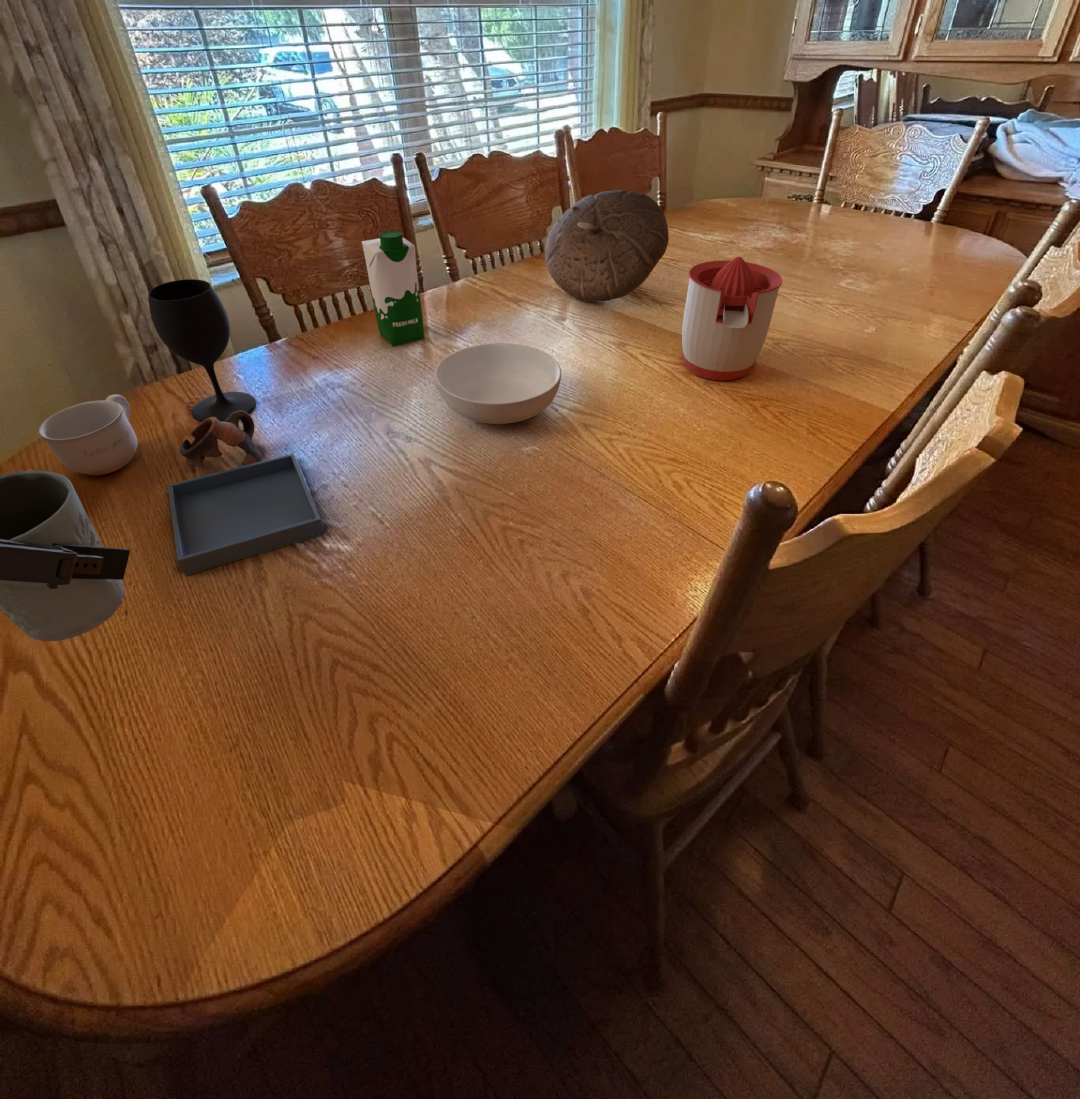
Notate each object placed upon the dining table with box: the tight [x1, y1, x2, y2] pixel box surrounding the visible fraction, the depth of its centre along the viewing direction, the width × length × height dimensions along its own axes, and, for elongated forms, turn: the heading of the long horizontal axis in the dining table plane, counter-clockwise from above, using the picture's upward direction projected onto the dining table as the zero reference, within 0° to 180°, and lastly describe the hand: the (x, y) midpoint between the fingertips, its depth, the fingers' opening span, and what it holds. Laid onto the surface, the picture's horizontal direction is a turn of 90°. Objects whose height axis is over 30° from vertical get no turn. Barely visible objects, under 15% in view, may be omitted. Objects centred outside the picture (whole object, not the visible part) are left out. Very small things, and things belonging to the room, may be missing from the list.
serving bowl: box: [434, 342, 562, 425], centre depth 106 cm, size 21×21×7 cm
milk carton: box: [361, 230, 426, 348], centre depth 122 cm, size 9×9×20 cm
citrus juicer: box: [681, 256, 783, 381], centre depth 112 cm, size 16×17×20 cm
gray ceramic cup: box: [0, 469, 126, 642], centre depth 54 cm, size 10×10×12 cm
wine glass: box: [147, 278, 257, 423], centre depth 101 cm, size 10×10×20 cm
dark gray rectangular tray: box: [167, 452, 326, 576], centre depth 85 cm, size 17×17×3 cm
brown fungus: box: [544, 189, 670, 303], centre depth 142 cm, size 28×23×25 cm
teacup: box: [38, 394, 138, 476], centre depth 94 cm, size 14×11×8 cm
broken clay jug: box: [179, 410, 263, 470], centre depth 95 cm, size 12×9×8 cm
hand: (77, 551), depth 57 cm, fingers closed on gray ceramic cup, 10 cm apart
